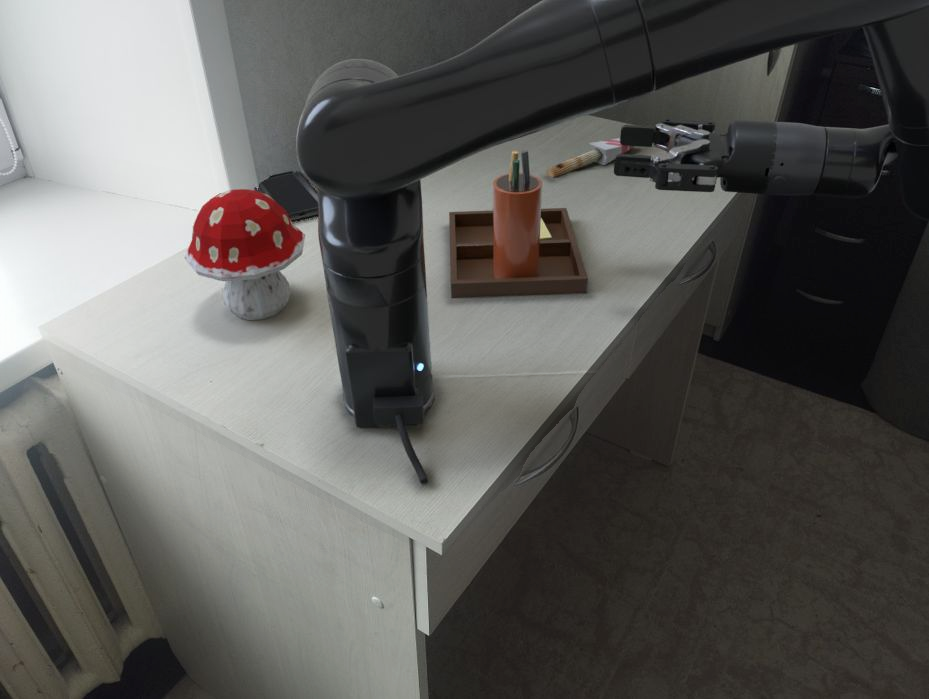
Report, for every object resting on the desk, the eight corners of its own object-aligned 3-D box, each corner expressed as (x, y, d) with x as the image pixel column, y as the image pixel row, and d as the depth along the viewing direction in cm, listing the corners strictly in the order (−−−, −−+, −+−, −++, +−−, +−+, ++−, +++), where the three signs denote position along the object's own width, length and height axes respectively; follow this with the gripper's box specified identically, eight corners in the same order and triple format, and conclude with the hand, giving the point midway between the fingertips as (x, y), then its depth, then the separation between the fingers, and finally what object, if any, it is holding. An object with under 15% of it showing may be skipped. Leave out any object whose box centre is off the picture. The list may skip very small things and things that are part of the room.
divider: (569, 255, 100) (570, 242, 98) (456, 259, 99) (456, 246, 98) (568, 252, 100) (569, 239, 99) (456, 256, 100) (456, 243, 99)
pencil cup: (540, 285, 94) (546, 161, 84) (494, 286, 94) (494, 163, 84) (536, 261, 98) (540, 141, 89) (491, 263, 98) (491, 143, 89)
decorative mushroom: (305, 267, 100) (286, 160, 91) (327, 323, 89) (308, 208, 80) (197, 289, 96) (165, 180, 87) (206, 350, 86) (172, 233, 76)
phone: (298, 169, 122) (328, 205, 112) (299, 176, 123) (329, 212, 112) (250, 179, 120) (276, 217, 109) (252, 186, 120) (277, 224, 110)
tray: (586, 296, 93) (587, 278, 91) (451, 300, 92) (450, 283, 91) (565, 223, 108) (566, 207, 106) (449, 227, 108) (449, 211, 106)
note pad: (551, 246, 101) (552, 237, 101) (508, 251, 101) (508, 241, 100) (540, 226, 106) (541, 216, 105) (499, 230, 106) (499, 221, 105)
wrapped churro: (647, 133, 126) (557, 169, 117) (645, 148, 128) (557, 185, 119) (630, 126, 129) (541, 161, 120) (629, 141, 130) (541, 177, 122)
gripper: (773, 101, 83) (625, 94, 87) (786, 150, 72) (615, 140, 76) (759, 165, 88) (619, 156, 91) (769, 221, 77) (609, 208, 80)
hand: (617, 149), depth 83 cm, fingers open, 8 cm apart
